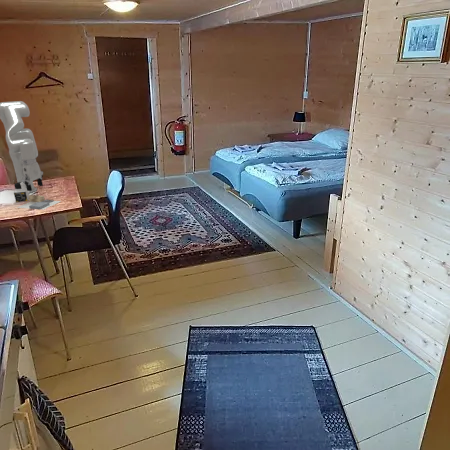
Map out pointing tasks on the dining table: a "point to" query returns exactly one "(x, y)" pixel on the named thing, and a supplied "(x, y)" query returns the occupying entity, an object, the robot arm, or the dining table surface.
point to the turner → (38, 199)
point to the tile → (39, 205)
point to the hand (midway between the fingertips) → (35, 188)
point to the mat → (36, 202)
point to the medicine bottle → (21, 192)
